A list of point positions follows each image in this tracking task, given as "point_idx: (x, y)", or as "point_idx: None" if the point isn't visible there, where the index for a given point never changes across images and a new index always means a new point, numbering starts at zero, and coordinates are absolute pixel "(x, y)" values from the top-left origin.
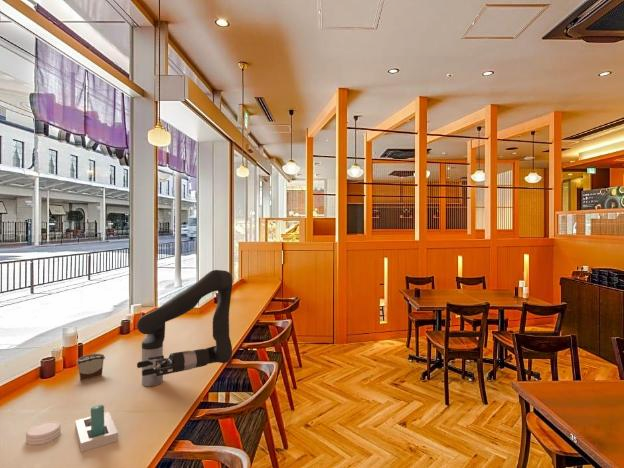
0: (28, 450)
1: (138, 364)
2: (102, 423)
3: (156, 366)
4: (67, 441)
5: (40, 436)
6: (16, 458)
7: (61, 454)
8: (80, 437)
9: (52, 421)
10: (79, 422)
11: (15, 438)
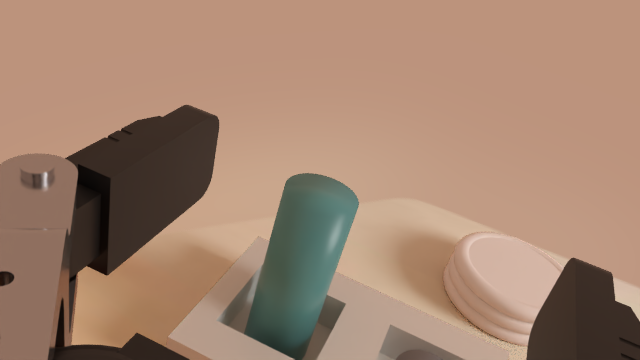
0: (434, 239)
1: (555, 287)
2: (264, 270)
3: (59, 219)
4: None
5: (459, 241)
6: (409, 210)
7: None
8: None
9: None
10: (471, 346)
11: None
